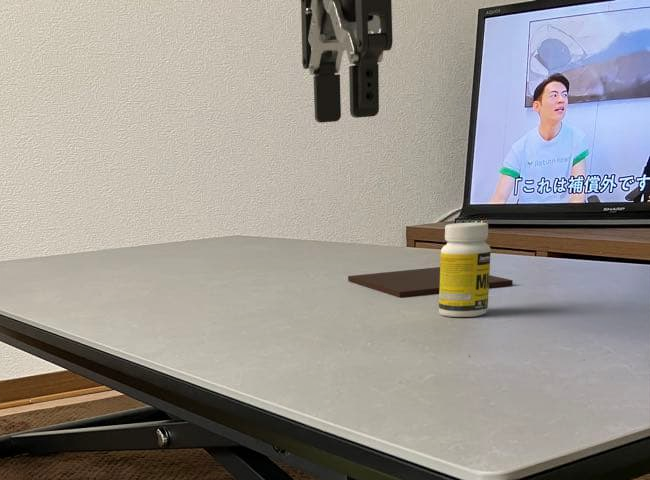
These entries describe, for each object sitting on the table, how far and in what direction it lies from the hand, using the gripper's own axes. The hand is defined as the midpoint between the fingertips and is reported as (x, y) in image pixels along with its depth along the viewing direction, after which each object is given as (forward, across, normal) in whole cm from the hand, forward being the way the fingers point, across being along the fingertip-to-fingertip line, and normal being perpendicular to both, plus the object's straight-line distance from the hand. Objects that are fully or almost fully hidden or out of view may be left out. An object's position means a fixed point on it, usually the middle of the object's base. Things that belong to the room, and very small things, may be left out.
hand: (345, 119), depth 76 cm
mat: (+18, +24, -19) cm, 36 cm away
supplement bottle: (+18, +3, -13) cm, 23 cm away
